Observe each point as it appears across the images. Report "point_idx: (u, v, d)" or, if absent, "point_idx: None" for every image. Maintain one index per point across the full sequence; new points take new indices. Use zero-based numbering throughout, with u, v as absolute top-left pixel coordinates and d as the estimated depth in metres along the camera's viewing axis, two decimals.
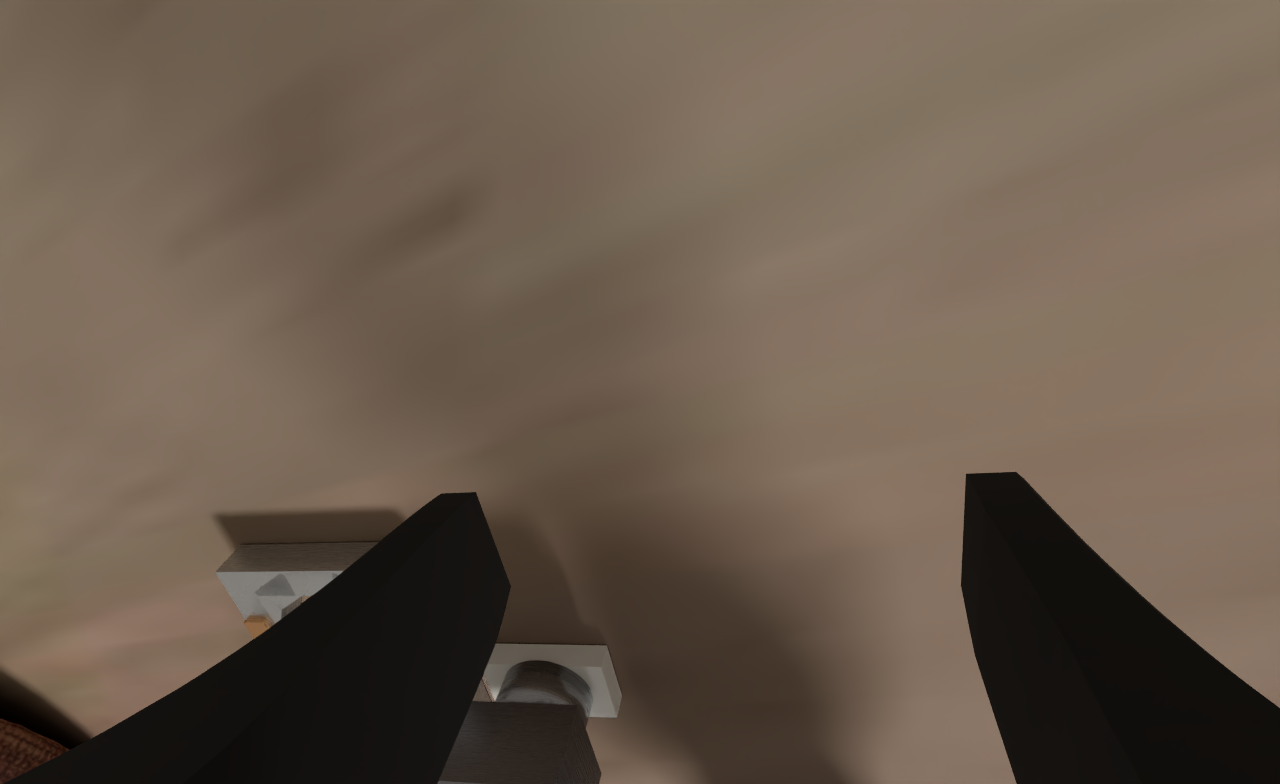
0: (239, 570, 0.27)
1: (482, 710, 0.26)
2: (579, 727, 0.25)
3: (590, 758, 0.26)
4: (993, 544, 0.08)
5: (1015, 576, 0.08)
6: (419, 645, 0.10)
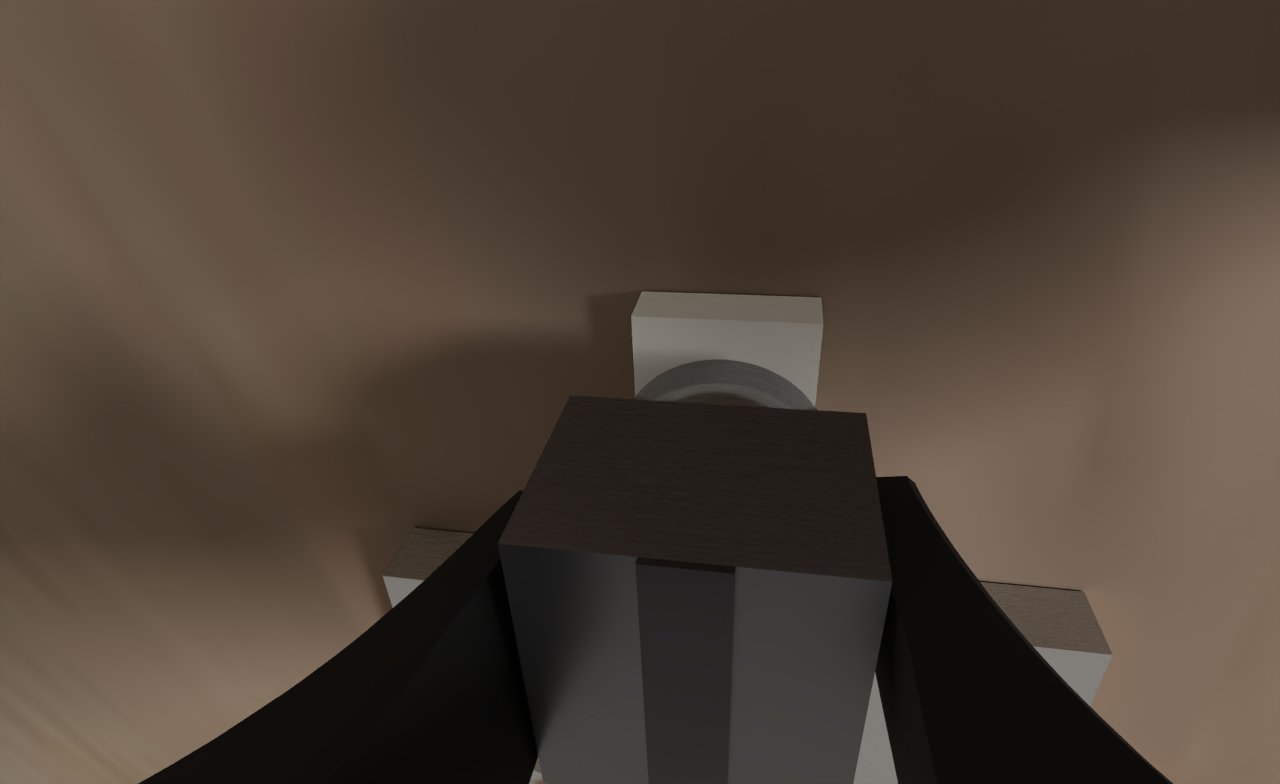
0: None
1: None
2: (614, 413, 0.10)
3: (750, 421, 0.09)
4: None
5: None
6: (512, 647, 0.09)
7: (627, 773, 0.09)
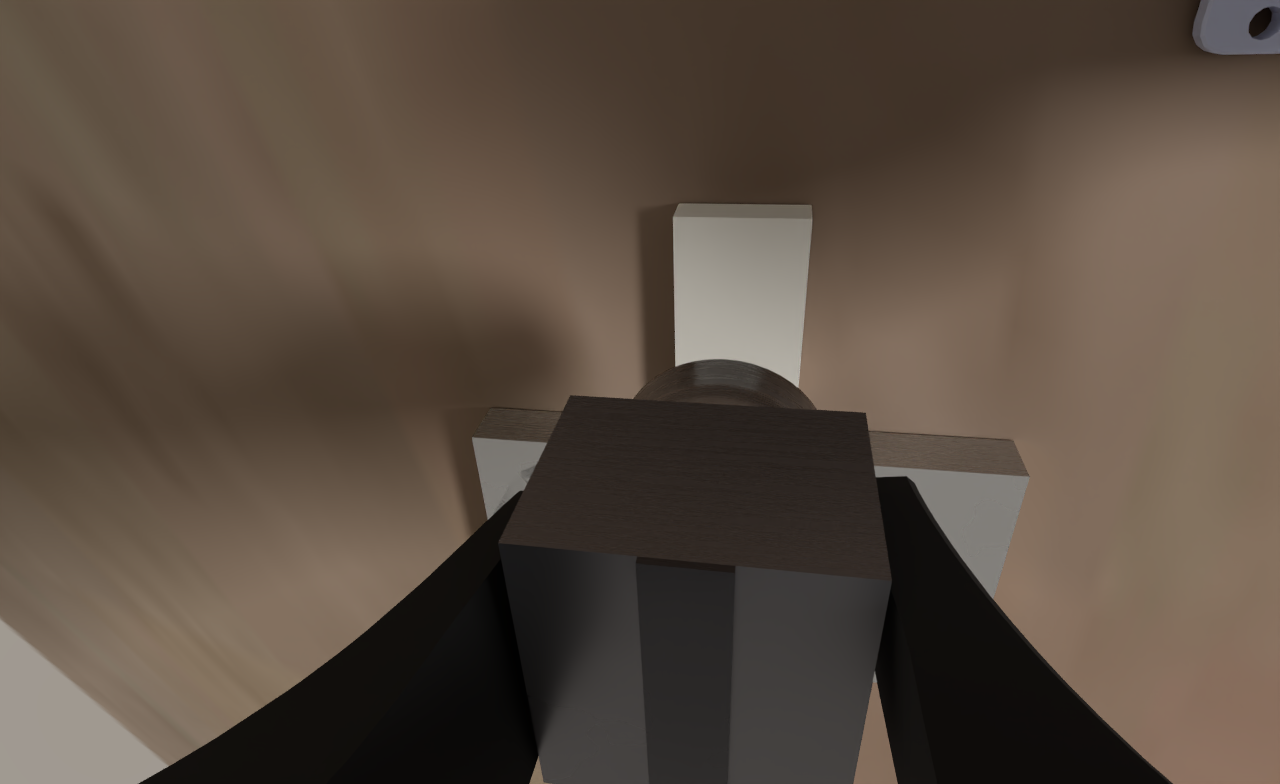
0: None
1: None
2: (615, 413, 0.10)
3: (750, 420, 0.09)
4: None
5: None
6: (511, 647, 0.09)
7: (627, 772, 0.10)
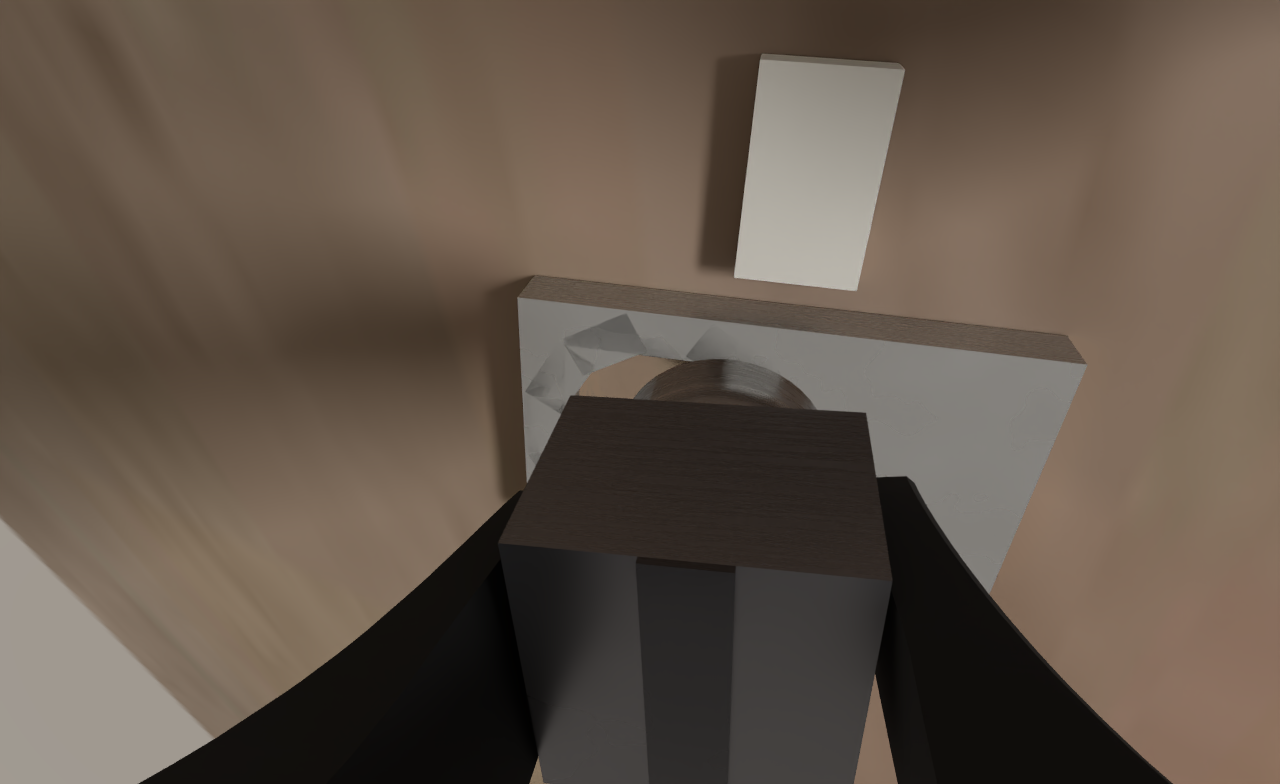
0: None
1: None
2: (615, 413, 0.10)
3: (750, 420, 0.09)
4: None
5: None
6: (511, 647, 0.09)
7: (627, 773, 0.09)
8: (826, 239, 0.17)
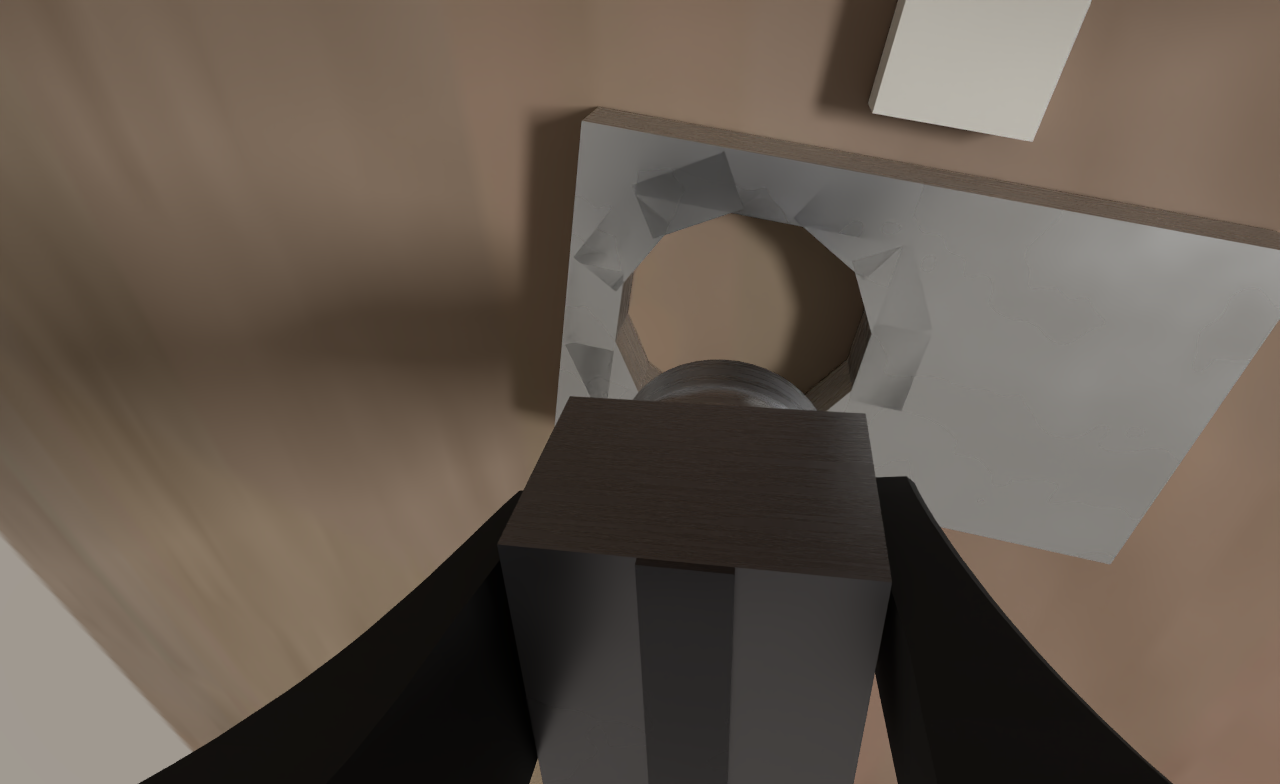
0: (557, 406, 0.18)
1: None
2: (614, 414, 0.10)
3: (750, 421, 0.09)
4: None
5: None
6: (511, 647, 0.09)
7: (627, 774, 0.09)
8: (1007, 63, 0.13)
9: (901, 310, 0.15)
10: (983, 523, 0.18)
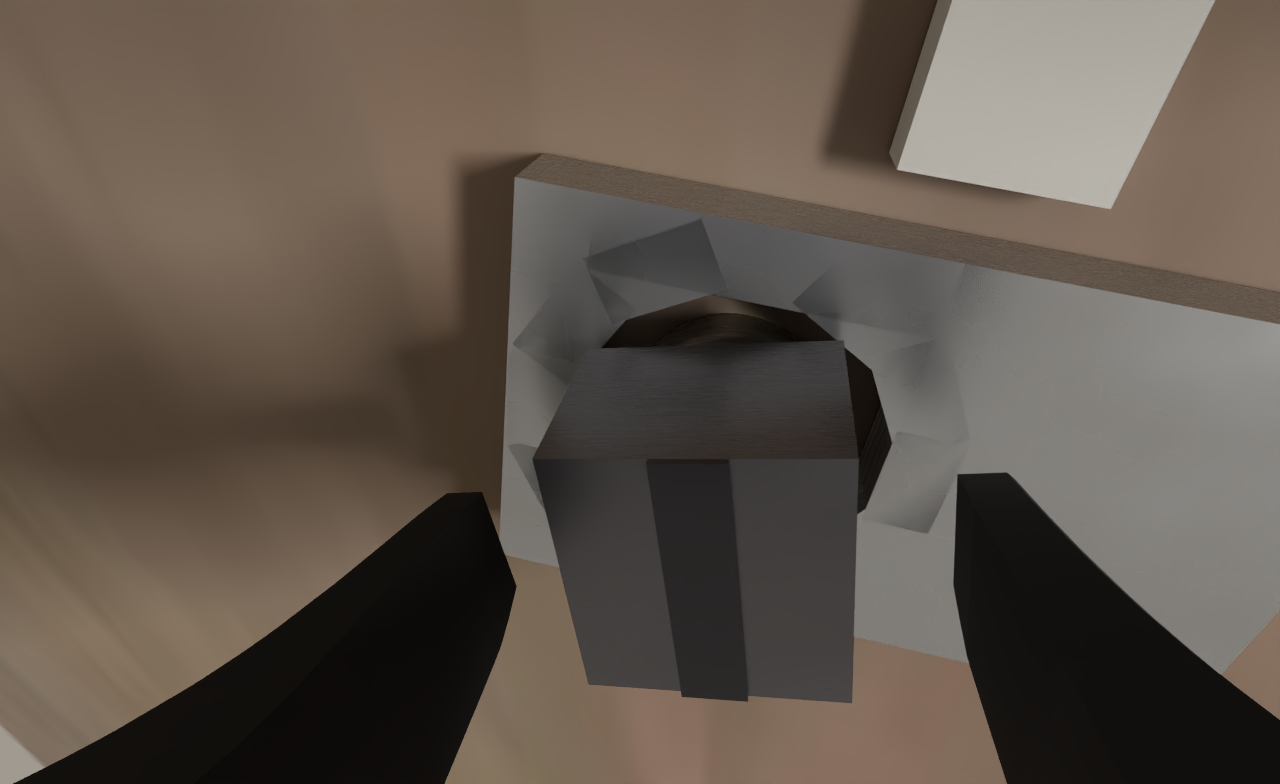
0: (501, 514, 0.15)
1: None
2: (626, 358, 0.11)
3: (743, 354, 0.11)
4: (983, 544, 0.08)
5: (1004, 576, 0.08)
6: (427, 645, 0.10)
7: (659, 667, 0.11)
8: (1081, 107, 0.10)
9: (931, 417, 0.12)
10: None
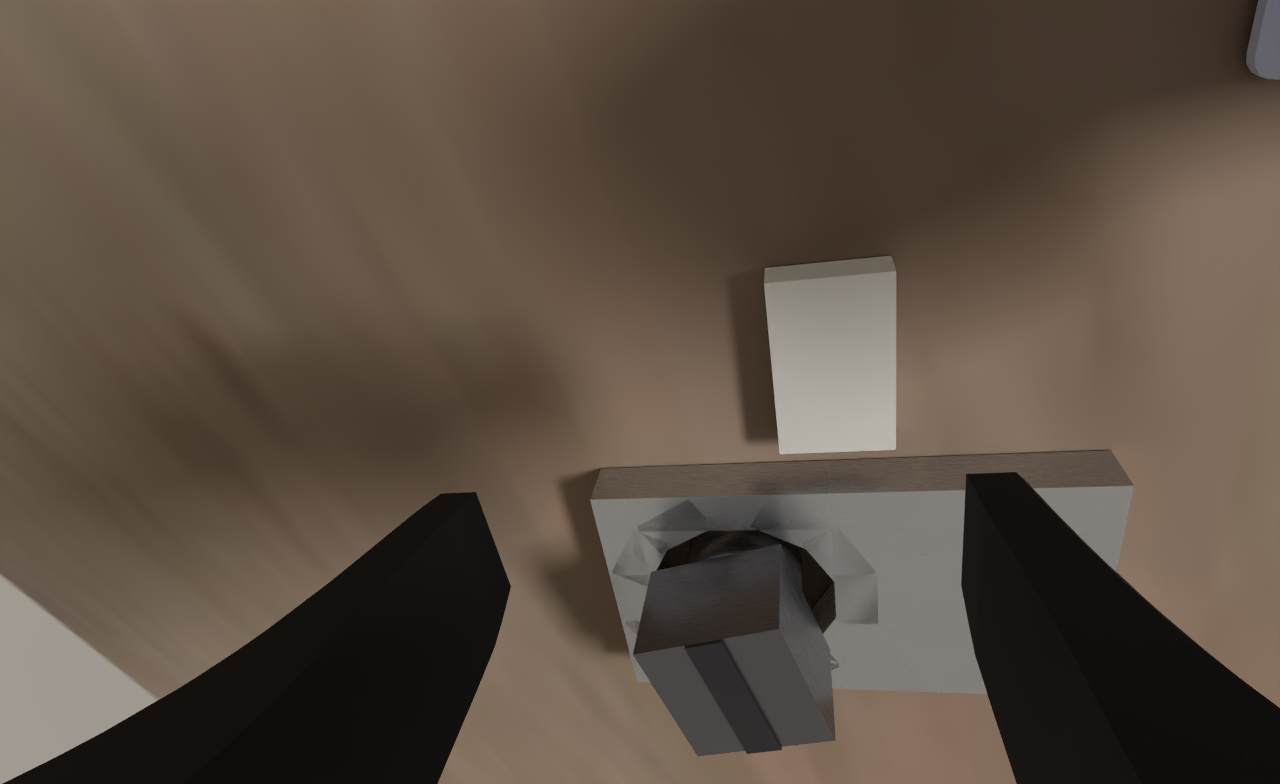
0: (632, 659, 0.25)
1: None
2: (671, 576, 0.21)
3: (729, 563, 0.20)
4: (993, 544, 0.08)
5: (1015, 576, 0.08)
6: (419, 646, 0.10)
7: (730, 740, 0.20)
8: (857, 412, 0.19)
9: (848, 565, 0.21)
10: (976, 685, 0.22)
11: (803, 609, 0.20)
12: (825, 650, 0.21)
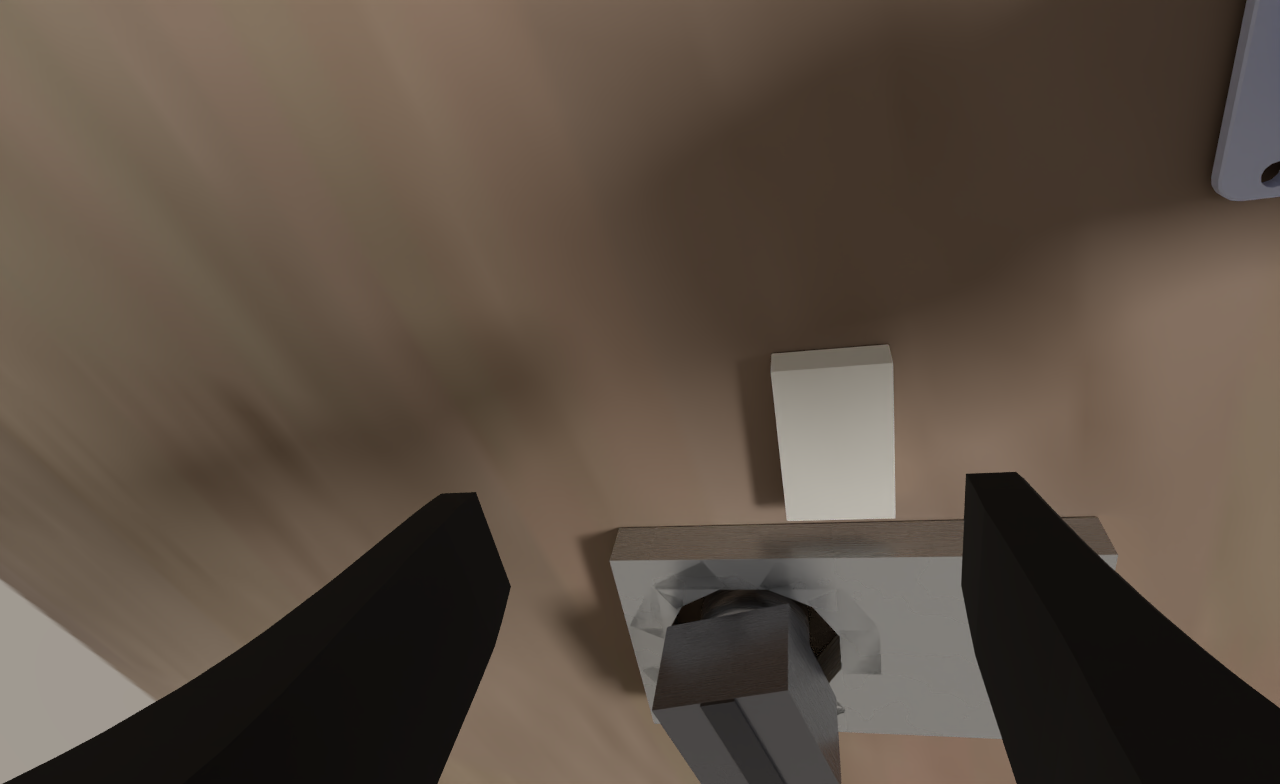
0: (649, 703, 0.26)
1: None
2: (686, 632, 0.22)
3: (741, 621, 0.22)
4: (993, 544, 0.08)
5: (1015, 576, 0.08)
6: (420, 645, 0.10)
7: None
8: (859, 485, 0.20)
9: (852, 621, 0.22)
10: (975, 730, 0.24)
11: (810, 664, 0.22)
12: (831, 700, 0.23)
